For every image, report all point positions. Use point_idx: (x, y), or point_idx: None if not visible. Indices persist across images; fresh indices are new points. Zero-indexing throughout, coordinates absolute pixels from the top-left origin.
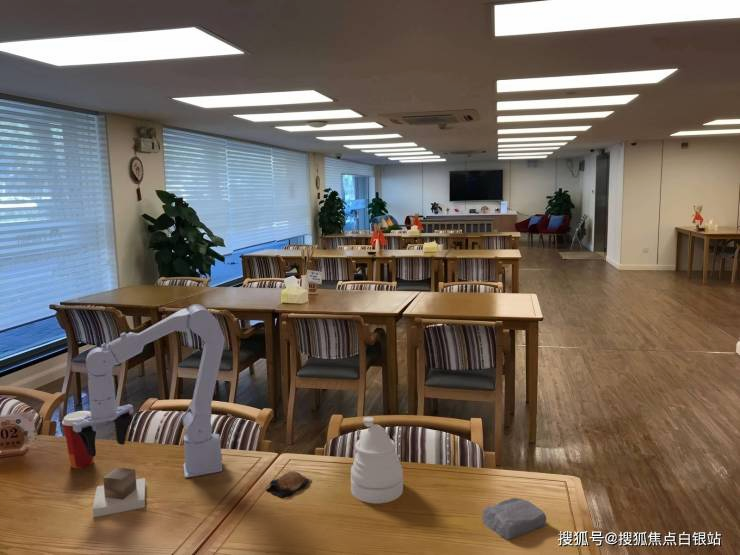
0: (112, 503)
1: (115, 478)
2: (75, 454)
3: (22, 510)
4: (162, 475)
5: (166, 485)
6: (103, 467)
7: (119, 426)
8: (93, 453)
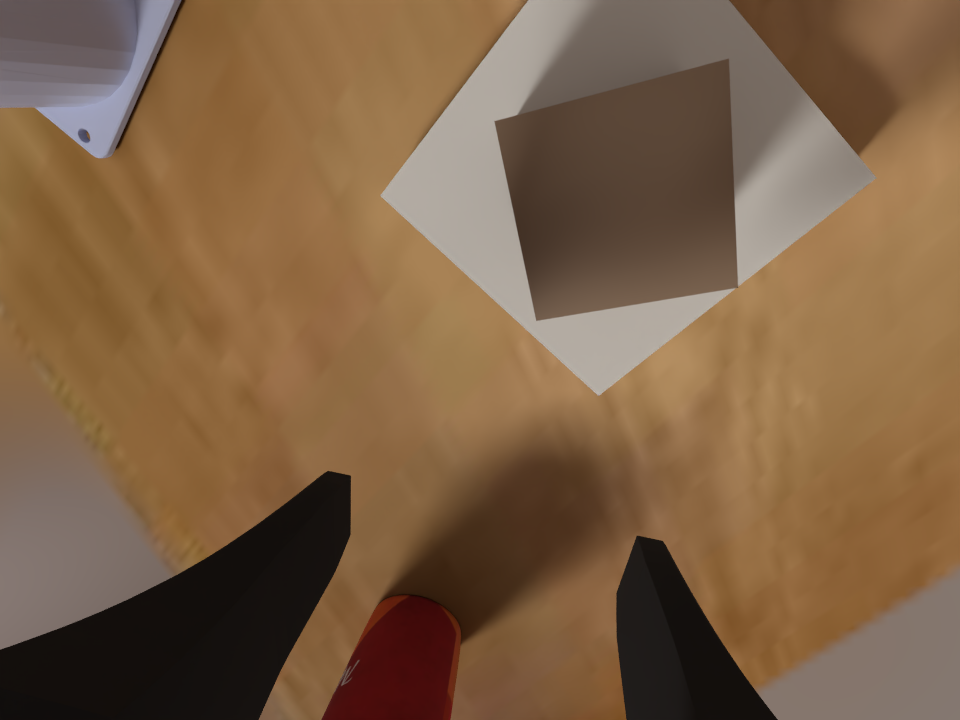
0: (762, 100)
1: (726, 148)
2: (443, 687)
3: (848, 573)
4: (264, 186)
5: (325, 39)
6: (390, 535)
7: (238, 680)
8: (672, 562)
